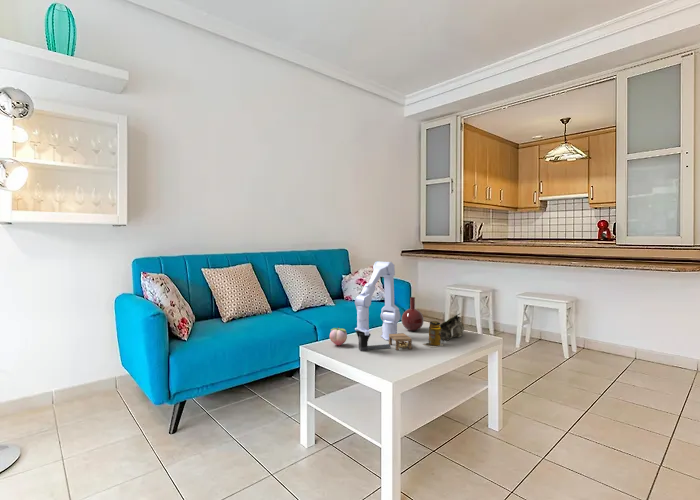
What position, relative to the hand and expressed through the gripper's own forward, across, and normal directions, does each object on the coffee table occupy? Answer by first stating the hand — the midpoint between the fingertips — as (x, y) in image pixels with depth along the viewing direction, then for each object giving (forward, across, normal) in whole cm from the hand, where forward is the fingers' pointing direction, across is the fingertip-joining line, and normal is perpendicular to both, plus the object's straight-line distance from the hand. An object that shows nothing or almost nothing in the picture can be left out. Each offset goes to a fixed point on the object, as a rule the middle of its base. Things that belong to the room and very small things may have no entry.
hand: (363, 346), depth 192 cm
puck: (+2, 0, +22) cm, 22 cm away
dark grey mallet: (+2, 0, +6) cm, 7 cm away
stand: (+2, 0, +20) cm, 20 cm away
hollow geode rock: (+2, -11, +53) cm, 54 cm away
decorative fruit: (+2, -11, -10) cm, 15 cm away
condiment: (+2, +1, +38) cm, 38 cm away
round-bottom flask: (+2, -30, +40) cm, 50 cm away
